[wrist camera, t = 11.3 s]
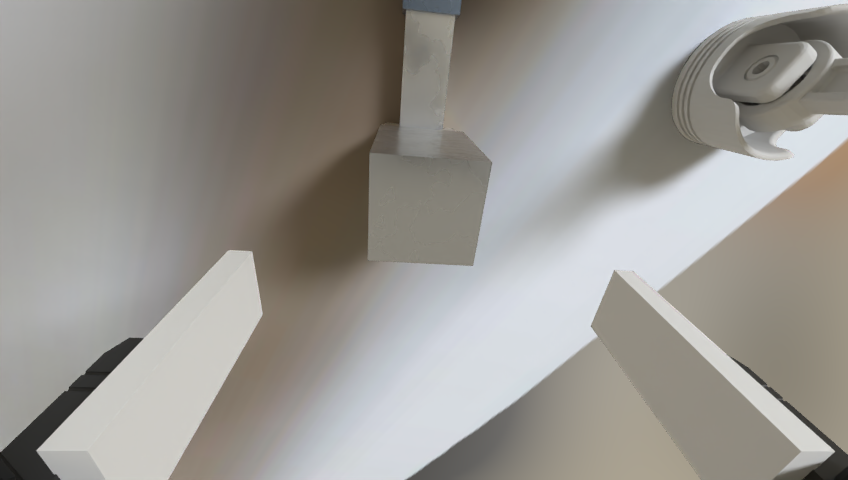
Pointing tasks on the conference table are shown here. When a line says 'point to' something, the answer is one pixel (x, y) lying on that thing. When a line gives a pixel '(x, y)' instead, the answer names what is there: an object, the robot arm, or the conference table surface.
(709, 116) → the engine component
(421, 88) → the blue-grey beige mallet
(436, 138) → the grey textured cube
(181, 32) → the conference table surface
